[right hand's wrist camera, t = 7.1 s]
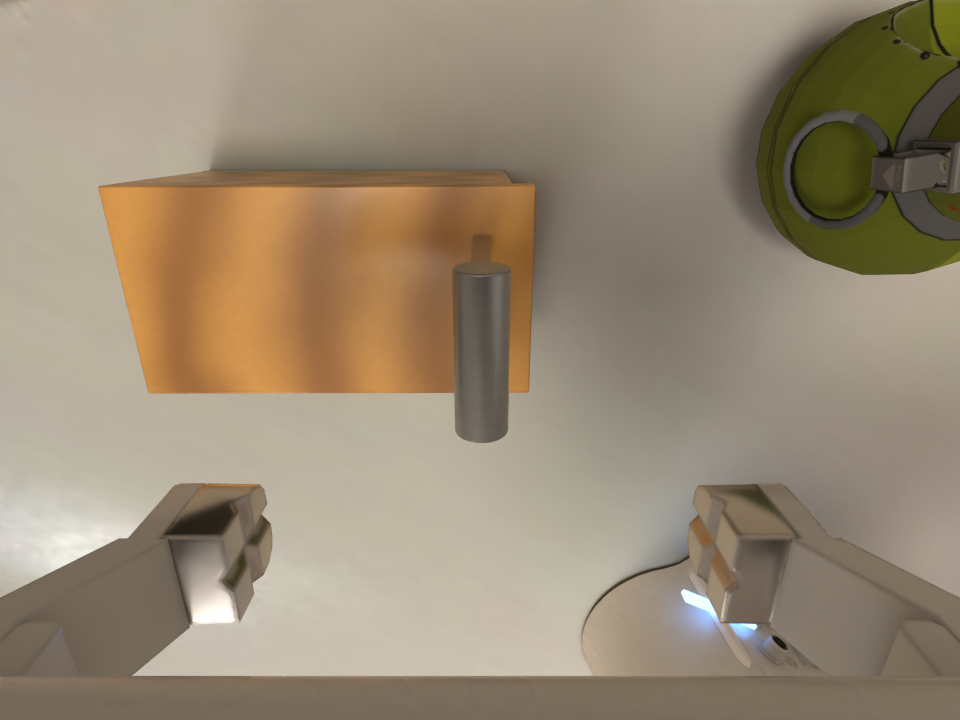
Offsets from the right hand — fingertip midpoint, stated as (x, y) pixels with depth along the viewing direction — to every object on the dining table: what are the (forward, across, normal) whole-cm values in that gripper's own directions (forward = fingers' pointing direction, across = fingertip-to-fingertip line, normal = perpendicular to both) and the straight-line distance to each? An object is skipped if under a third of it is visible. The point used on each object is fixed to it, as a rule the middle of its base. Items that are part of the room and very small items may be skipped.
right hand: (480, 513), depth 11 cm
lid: (+16, +7, 0) cm, 18 cm away
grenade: (+26, -19, -6) cm, 33 cm away
